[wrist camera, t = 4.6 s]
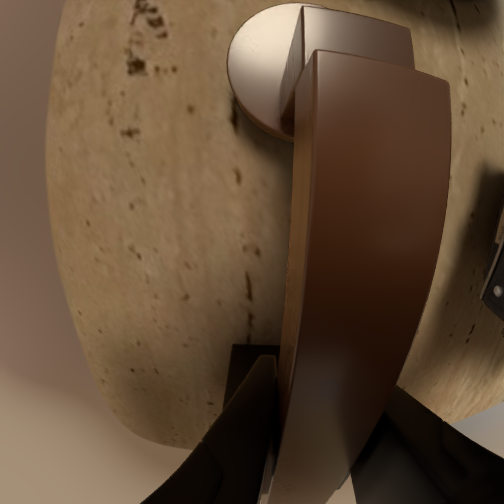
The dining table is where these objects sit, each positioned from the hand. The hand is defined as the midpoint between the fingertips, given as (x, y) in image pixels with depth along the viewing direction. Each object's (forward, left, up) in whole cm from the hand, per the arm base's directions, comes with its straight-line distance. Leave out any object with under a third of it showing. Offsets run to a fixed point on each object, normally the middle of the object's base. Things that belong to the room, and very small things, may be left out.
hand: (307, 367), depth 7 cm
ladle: (+2, 0, -5) cm, 5 cm away
